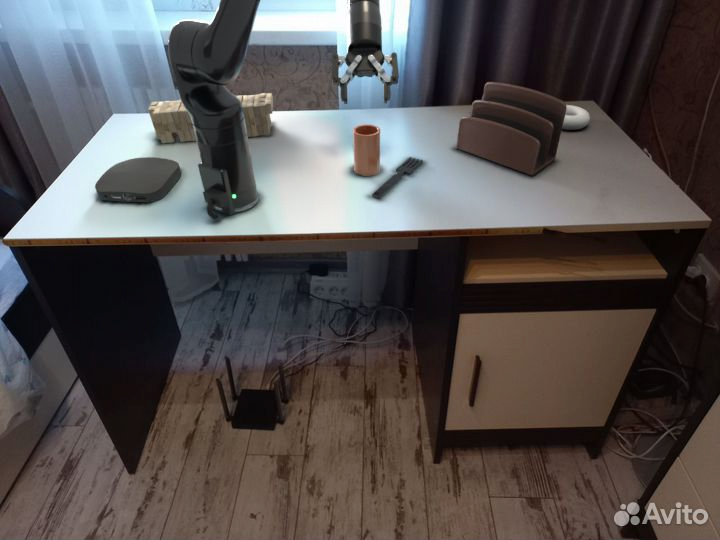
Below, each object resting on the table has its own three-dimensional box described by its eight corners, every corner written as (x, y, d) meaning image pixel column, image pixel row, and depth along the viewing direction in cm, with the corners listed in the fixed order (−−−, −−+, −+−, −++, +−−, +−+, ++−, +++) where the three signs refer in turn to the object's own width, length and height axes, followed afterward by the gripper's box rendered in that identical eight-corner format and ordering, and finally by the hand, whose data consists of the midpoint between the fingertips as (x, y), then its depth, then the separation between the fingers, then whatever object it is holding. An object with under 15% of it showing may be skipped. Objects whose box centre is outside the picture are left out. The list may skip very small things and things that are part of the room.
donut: (596, 126, 125) (565, 112, 132) (600, 113, 123) (568, 99, 130) (567, 136, 121) (537, 121, 128) (571, 122, 119) (540, 107, 126)
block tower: (156, 147, 123) (276, 135, 125) (145, 114, 118) (270, 101, 119) (162, 133, 129) (276, 122, 131) (152, 101, 124) (271, 89, 125)
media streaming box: (187, 169, 112) (184, 157, 110) (159, 205, 101) (155, 192, 99) (125, 167, 114) (121, 154, 112) (91, 201, 103) (86, 188, 101)
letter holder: (479, 135, 123) (487, 76, 114) (555, 160, 112) (571, 97, 103) (455, 149, 117) (461, 88, 108) (532, 177, 106) (547, 112, 97)
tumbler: (371, 178, 107) (371, 138, 102) (349, 172, 110) (347, 132, 104) (384, 167, 111) (385, 127, 105) (362, 161, 113) (362, 122, 108)
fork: (383, 200, 101) (383, 197, 100) (368, 195, 102) (368, 193, 102) (423, 162, 112) (423, 160, 112) (409, 159, 114) (409, 156, 113)
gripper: (330, 20, 106) (331, 95, 104) (398, 19, 106) (400, 93, 104) (332, 40, 113) (333, 110, 112) (395, 38, 113) (398, 108, 111)
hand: (365, 102), depth 108 cm, fingers open, 8 cm apart
